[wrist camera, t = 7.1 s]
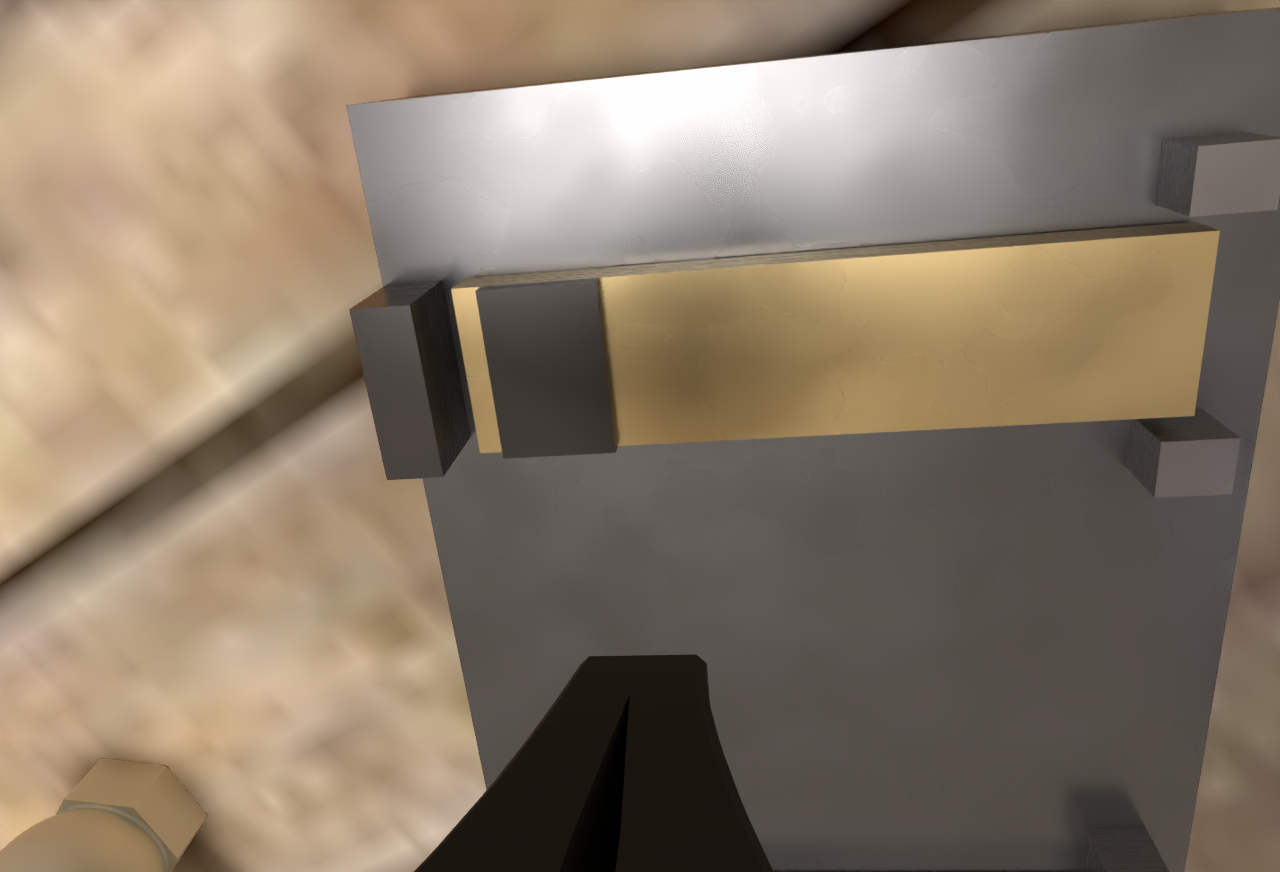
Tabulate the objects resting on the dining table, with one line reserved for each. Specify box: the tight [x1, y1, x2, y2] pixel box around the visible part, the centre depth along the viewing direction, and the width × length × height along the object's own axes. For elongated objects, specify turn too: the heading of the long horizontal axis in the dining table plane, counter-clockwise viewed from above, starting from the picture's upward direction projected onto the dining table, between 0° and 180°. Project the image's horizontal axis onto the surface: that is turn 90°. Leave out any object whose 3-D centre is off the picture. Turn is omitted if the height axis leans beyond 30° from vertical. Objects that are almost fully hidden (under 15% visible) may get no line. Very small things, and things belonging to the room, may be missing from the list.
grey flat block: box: [346, 8, 1280, 872], centre depth 19 cm, size 15×23×5 cm, turn 5°
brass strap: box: [451, 222, 1220, 459], centre depth 15 cm, size 12×3×1 cm, turn 95°
